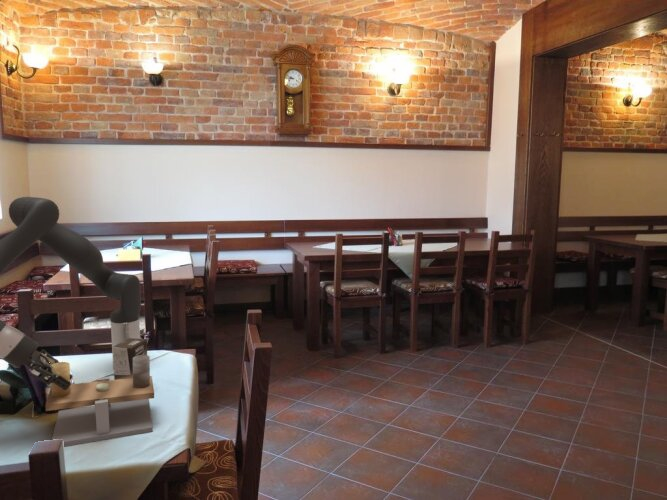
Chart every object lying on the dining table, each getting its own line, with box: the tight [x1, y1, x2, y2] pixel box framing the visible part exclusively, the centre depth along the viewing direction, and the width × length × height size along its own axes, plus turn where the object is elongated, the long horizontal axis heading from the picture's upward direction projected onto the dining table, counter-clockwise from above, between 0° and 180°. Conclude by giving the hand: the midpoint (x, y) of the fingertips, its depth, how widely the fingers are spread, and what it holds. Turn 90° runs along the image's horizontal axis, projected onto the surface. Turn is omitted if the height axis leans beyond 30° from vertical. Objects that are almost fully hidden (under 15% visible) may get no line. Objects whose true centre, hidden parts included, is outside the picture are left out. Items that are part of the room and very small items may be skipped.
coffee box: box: [112, 338, 148, 380], centre depth 162 cm, size 9×6×16 cm
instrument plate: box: [45, 354, 155, 412], centre depth 142 cm, size 26×13×10 cm, turn 112°
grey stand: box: [51, 376, 153, 447], centre depth 143 cm, size 24×19×10 cm
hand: (69, 382), depth 139 cm, fingers closed on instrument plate, 4 cm apart
